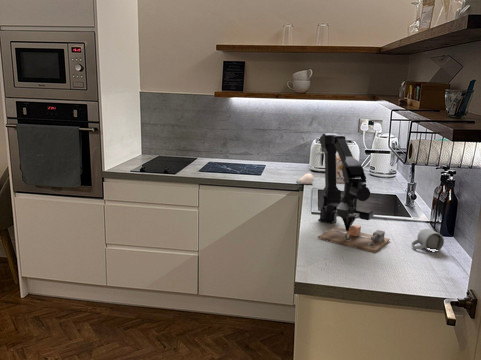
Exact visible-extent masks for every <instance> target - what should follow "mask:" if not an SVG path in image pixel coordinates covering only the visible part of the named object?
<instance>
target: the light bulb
mask: <svg viewBox="0 0 481 360" xmlns="http://www.w3.org/2000/svg"><path fill="white" fill-rule="evenodd" d="M313 182H314V175H313V174H312V173H309V172H308V173H307V172H306V173H305V174H303V176H301V177H300V178H299V179H297V180H296V182H295V183H296V184H297V185H302V184H303V185H304V184H305V185H311V184H313Z"/></svg>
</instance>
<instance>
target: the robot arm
mask: <svg viewBox="0 0 481 360" xmlns="http://www.w3.org/2000/svg"><path fill="white" fill-rule="evenodd" d="M319 143H320V149H321V150H322V152H323V153H324V179H325V181H324V182H325V183H324V185H325V186H324V188H323V190H322V192H321V196H320V197H319V200H318V201H317V207H318V208H319V209H320V212H319V213H320V214H319V219H318V220H317V221H318V222H320V223H321V222H322V223H327V224H333V223H335V222H336V221H337V220H338V219H337V216H338V217H340V218H341V219H342V221H343V225H344V229H346V231H349V228H350V227H351V226H353V225H354V222H355V221H356V219H358V218H359V219H360V220H365V221H370V220H371V219H373V218H374V215H375V214H374V211H373V210H371V209H366V208H364V209H362V210H358V209H359V206H358V201H360V202H365V201H367V200H368V199H369V198H370V196H371V191H370V189H369V188H368V187H367V176H366V173H365V171H364V168H363V165H362V164H361V163H360V161H359V160H358V159H356V158H355V159H354V157H355V156H354V155H353V153H352V151H351V150H350V147H349V144H348V142H347V138H346V136H345V135H344V134H338V133H322V135H321V136H320V137H319ZM336 155H339V157H340V159H341V161H342V164H343V166H342V173H343V176H344V179H343V181H344V182H345V183H343V184H344V185H343V186H344V187H343V196H341V195H342V191H341V189H339V188H338V186H337V183H336ZM353 156H354V157H353ZM352 178H355V179H352Z"/></svg>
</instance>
